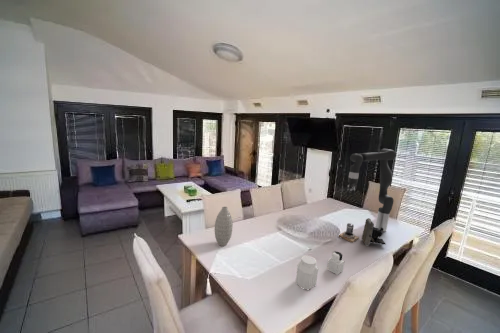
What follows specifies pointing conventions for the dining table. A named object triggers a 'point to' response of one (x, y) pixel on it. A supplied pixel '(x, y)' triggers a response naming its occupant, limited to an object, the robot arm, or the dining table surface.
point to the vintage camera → (371, 233)
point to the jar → (307, 272)
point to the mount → (348, 237)
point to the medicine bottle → (336, 263)
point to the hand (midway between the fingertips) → (350, 195)
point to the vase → (223, 227)
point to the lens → (349, 229)
